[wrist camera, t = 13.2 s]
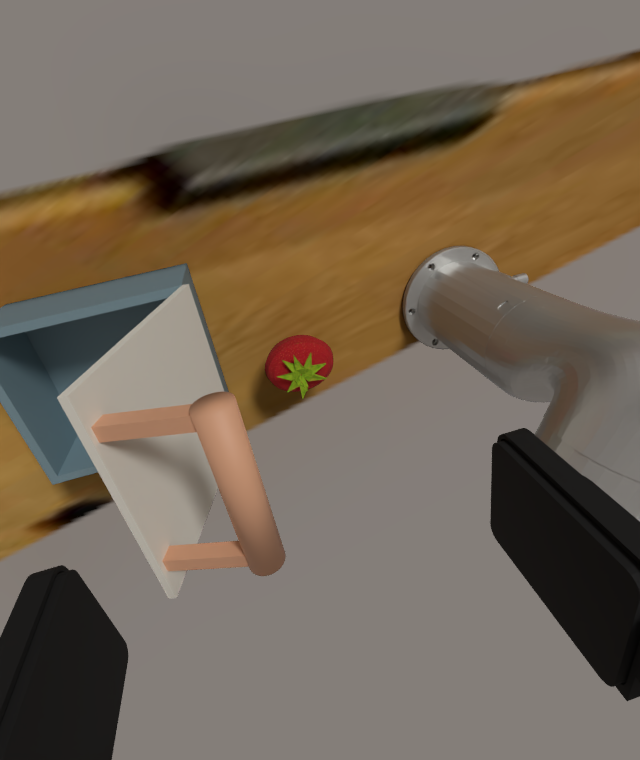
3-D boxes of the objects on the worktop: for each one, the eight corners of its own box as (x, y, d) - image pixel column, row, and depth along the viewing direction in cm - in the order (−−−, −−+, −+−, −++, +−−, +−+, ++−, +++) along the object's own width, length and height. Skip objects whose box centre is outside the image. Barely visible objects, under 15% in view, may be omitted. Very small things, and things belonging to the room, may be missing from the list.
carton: (186, 263, 45) (181, 285, 37) (229, 394, 52) (232, 435, 44) (5, 304, 43) (-41, 337, 35) (77, 434, 50) (52, 484, 42)
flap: (182, 285, 37) (276, 269, 36) (232, 434, 44) (312, 426, 43) (54, 399, 21) (216, 379, 20) (167, 601, 29) (289, 595, 28)
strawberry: (326, 357, 53) (349, 396, 44) (267, 375, 52) (278, 418, 44) (316, 313, 50) (338, 345, 42) (253, 331, 50) (262, 368, 41)
